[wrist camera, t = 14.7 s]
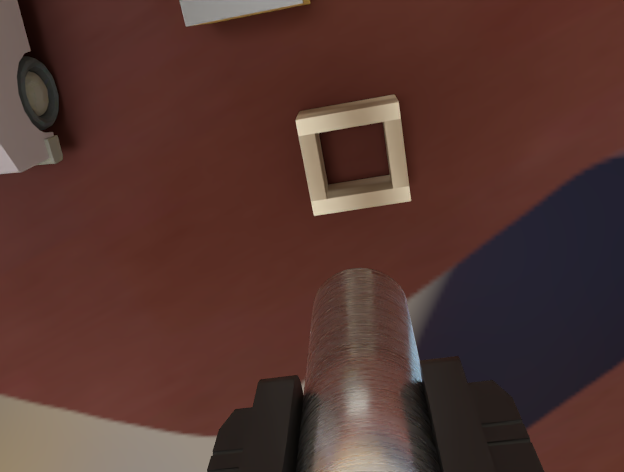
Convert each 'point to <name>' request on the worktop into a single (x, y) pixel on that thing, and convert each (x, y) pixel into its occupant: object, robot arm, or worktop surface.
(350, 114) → the holder
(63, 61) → the worktop surface
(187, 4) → the block
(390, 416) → the pin
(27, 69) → the toy vehicle
